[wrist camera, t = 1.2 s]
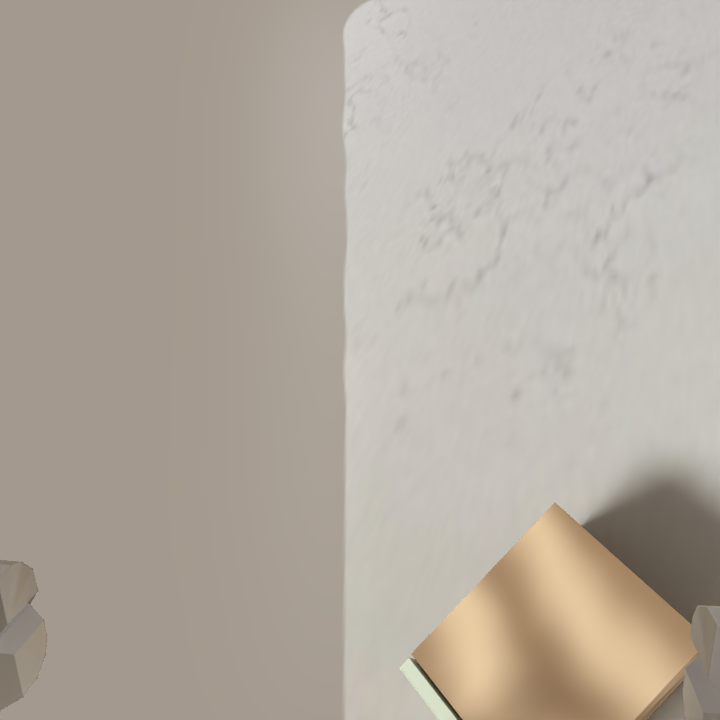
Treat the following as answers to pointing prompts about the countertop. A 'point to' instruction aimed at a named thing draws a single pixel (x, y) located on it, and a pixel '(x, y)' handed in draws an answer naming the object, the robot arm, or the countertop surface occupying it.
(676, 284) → the countertop surface
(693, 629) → the robot arm
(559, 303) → the countertop surface
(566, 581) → the tan wooden block
